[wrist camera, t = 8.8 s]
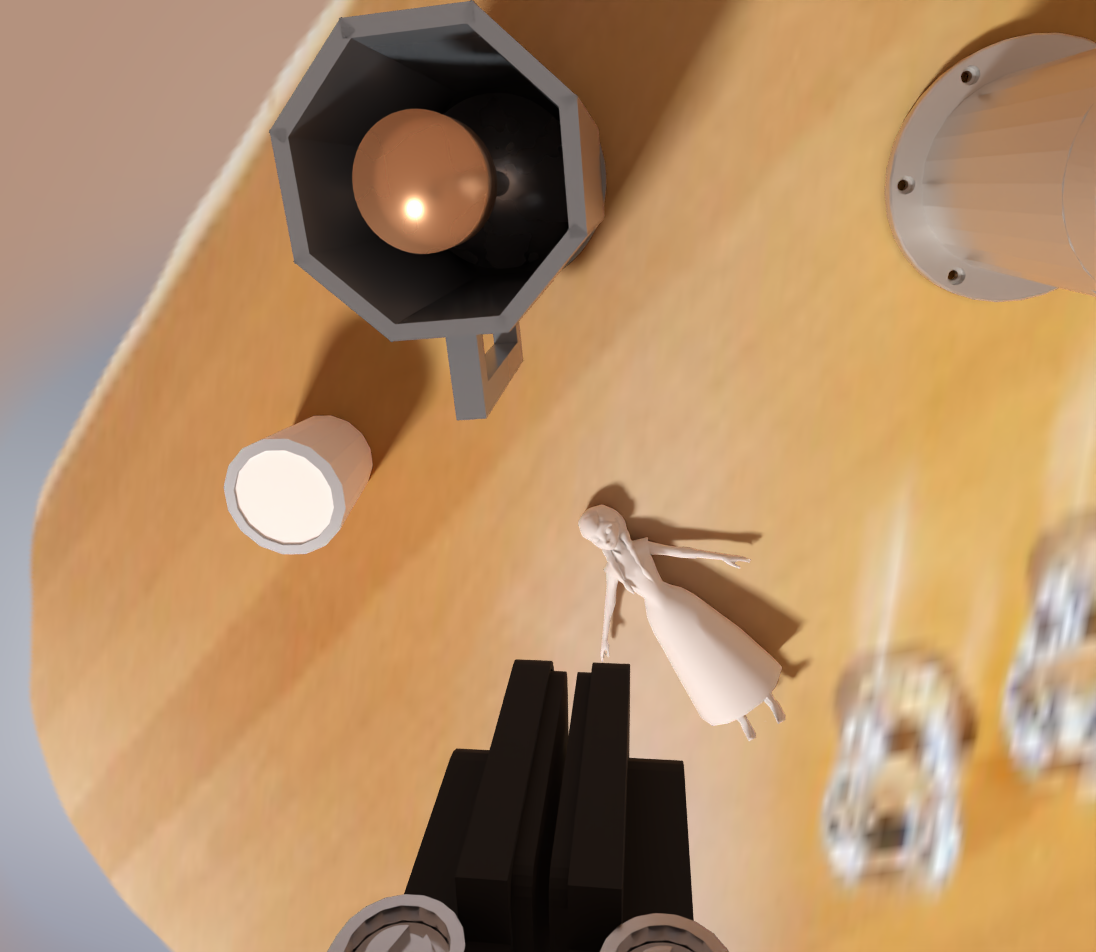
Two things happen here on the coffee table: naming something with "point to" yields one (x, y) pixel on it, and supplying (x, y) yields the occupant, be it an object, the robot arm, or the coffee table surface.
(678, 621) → the woman figurine
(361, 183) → the plunger
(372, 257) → the press pot
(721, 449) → the coffee table surface
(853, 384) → the coffee table surface
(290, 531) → the white cylinder
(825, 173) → the coffee table surface
